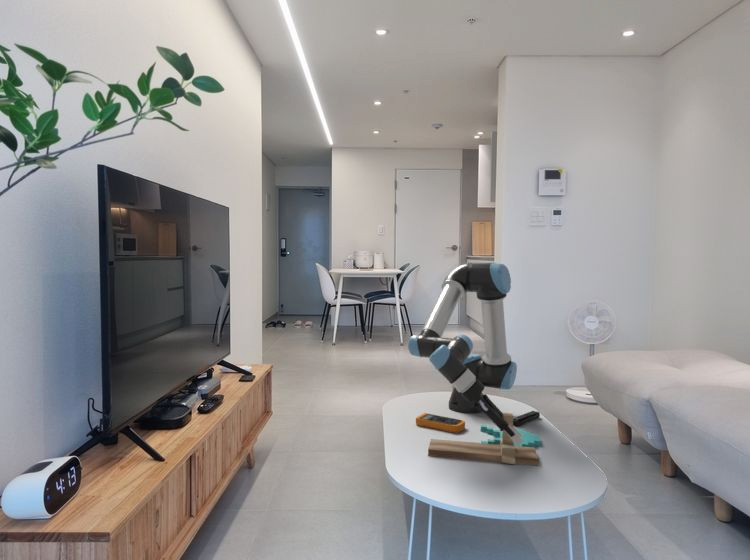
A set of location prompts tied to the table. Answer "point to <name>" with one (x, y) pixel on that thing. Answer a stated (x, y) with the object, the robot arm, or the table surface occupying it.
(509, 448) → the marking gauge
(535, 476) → the table surface
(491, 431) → the alien figure
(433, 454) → the walnut board
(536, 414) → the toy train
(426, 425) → the multimeter
